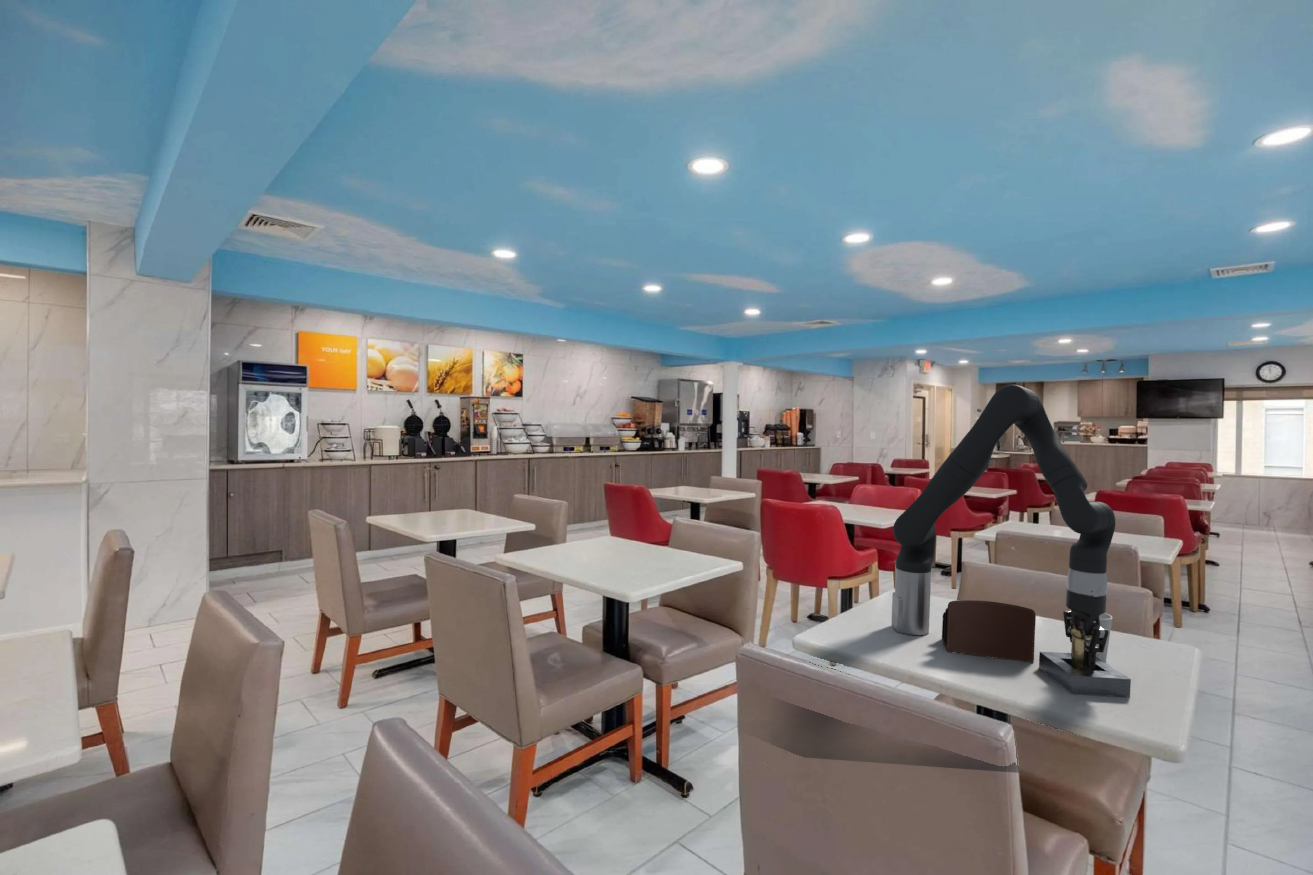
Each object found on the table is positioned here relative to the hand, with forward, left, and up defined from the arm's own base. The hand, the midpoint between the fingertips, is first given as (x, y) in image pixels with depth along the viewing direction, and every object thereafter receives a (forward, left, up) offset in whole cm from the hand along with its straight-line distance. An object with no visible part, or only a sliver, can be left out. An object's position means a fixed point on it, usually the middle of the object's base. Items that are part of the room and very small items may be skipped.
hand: (1082, 663), depth 144 cm
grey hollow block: (0, 0, -4) cm, 4 cm away
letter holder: (-14, +17, -5) cm, 23 cm away
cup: (+9, +13, -4) cm, 16 cm away
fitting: (0, 0, -2) cm, 2 cm away
